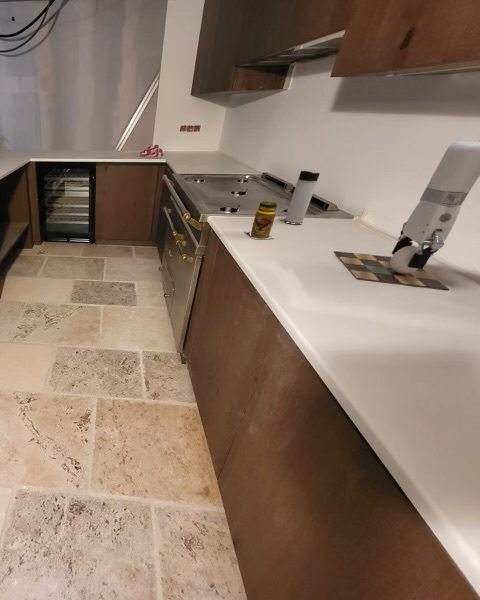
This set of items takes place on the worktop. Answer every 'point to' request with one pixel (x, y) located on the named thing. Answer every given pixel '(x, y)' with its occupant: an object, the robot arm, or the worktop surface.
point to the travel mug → (301, 197)
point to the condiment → (263, 221)
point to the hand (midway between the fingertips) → (406, 260)
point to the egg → (403, 260)
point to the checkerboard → (385, 271)
